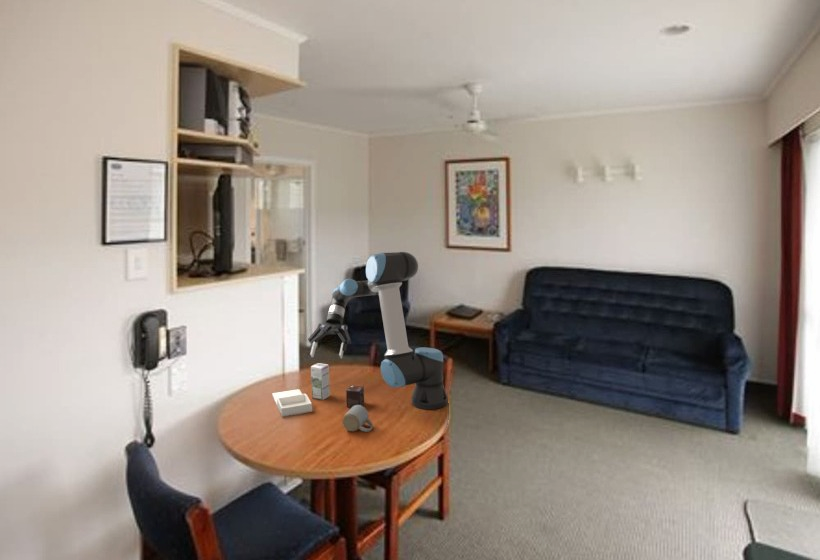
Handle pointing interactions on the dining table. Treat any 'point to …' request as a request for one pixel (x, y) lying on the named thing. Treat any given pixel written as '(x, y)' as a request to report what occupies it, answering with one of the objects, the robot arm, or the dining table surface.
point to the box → (355, 396)
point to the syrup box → (320, 381)
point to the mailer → (292, 402)
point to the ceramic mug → (357, 419)
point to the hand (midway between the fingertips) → (326, 356)
